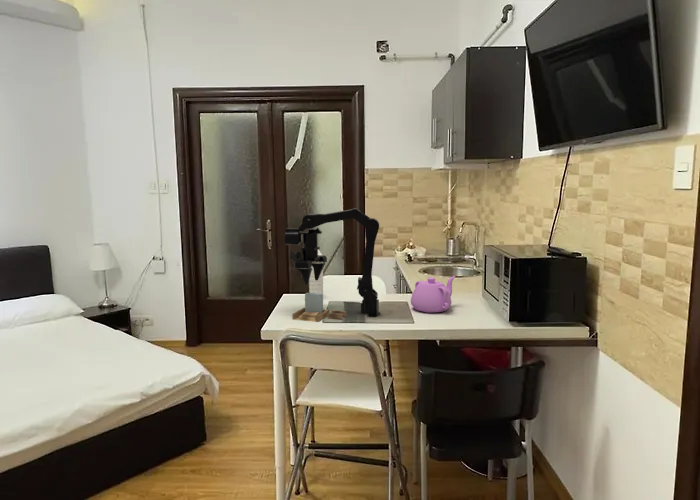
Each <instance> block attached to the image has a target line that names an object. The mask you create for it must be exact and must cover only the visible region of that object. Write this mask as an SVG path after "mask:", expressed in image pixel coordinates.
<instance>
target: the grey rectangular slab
mask: <svg viewBox="0 0 700 500" xmlns="http://www.w3.org/2000/svg"><path fill="white" fill-rule="evenodd" d="M304 308H305V312H318V313H319V314H321V313H323V309H324V293H323V294H320V293H309V292H305V293H304Z"/></svg>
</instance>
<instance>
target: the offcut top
mask: <svg viewBox="0 0 700 500" xmlns="http://www.w3.org/2000/svg"><path fill="white" fill-rule="evenodd" d="M317 315H319V313H318V312H304V313H303V314H301V317H311V318H316V316H317Z"/></svg>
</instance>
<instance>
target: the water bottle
mask: <svg viewBox="0 0 700 500" xmlns="http://www.w3.org/2000/svg"><path fill="white" fill-rule="evenodd" d="M318 255H323V254H322V252H321V251H320V249H318ZM311 268H312V271H311V275H310V279H309V282H308V288H309V292H308V293H320V294H323V295H324V268H323V269H322V272H321V274H320V276H319V279H318V280H315V276H314V268H313V266H312V267H311Z"/></svg>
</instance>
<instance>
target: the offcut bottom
mask: <svg viewBox="0 0 700 500" xmlns="http://www.w3.org/2000/svg"><path fill="white" fill-rule="evenodd" d="M299 319H305V320H316V318H311V317H301V316H299Z"/></svg>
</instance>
